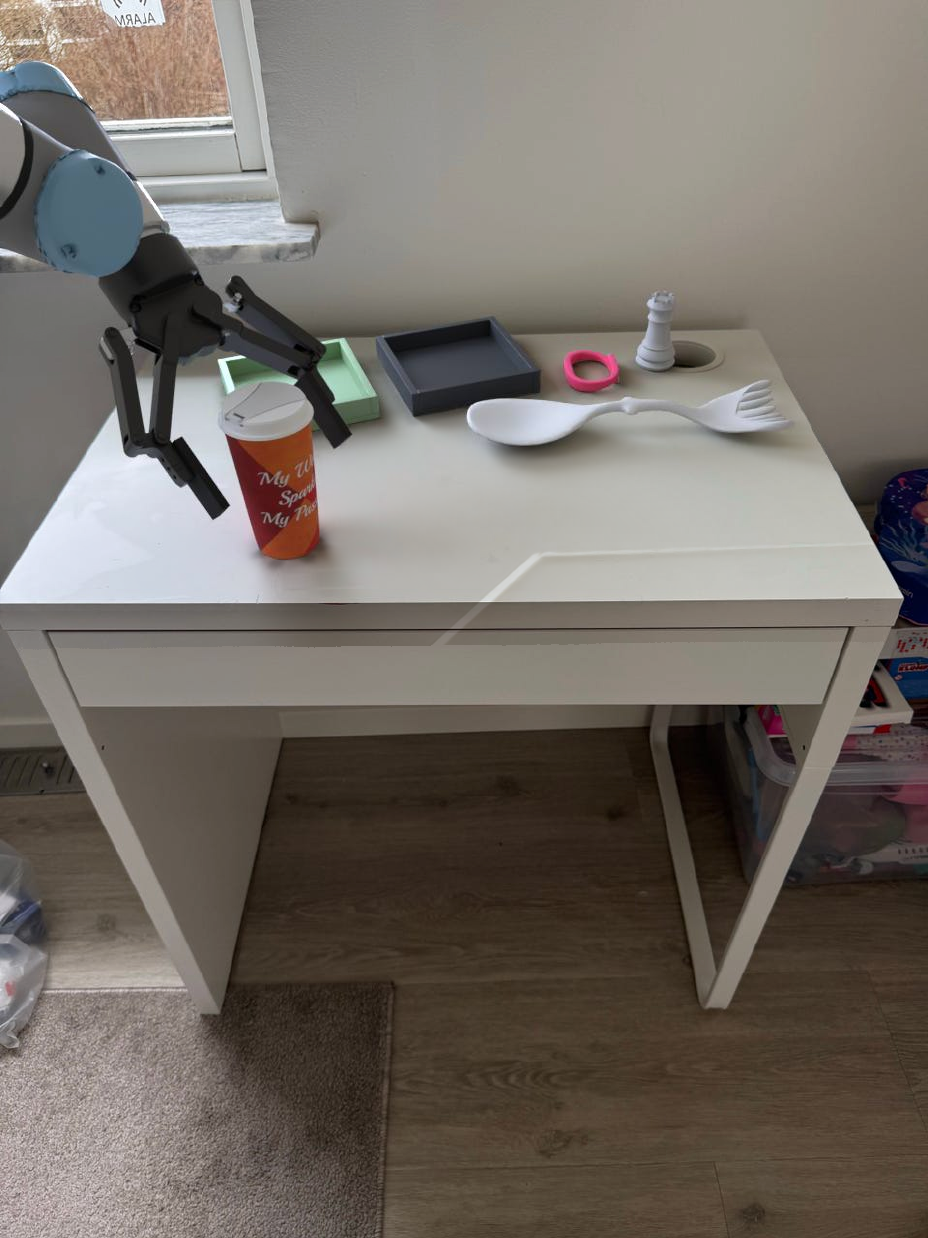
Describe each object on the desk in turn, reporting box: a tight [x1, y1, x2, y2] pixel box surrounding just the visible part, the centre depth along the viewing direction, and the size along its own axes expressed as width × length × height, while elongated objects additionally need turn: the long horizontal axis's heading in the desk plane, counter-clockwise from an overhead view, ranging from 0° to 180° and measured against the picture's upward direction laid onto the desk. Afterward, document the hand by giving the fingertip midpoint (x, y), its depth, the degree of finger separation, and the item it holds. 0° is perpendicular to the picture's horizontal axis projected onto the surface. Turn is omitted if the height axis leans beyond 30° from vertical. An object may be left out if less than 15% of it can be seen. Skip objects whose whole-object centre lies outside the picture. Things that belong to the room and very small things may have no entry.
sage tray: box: [217, 337, 381, 432], centre depth 103 cm, size 15×15×3 cm
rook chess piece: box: [635, 290, 678, 372], centre depth 105 cm, size 4×4×8 cm
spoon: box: [466, 379, 794, 446], centre depth 96 cm, size 9×32×4 cm, turn 91°
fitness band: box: [563, 349, 620, 392], centre depth 106 cm, size 8×6×2 cm
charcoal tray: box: [375, 315, 542, 417], centre depth 106 cm, size 15×15×3 cm
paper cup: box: [217, 382, 320, 560], centre depth 80 cm, size 8×8×14 cm
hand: (285, 476), depth 80 cm, fingers open, 13 cm apart
